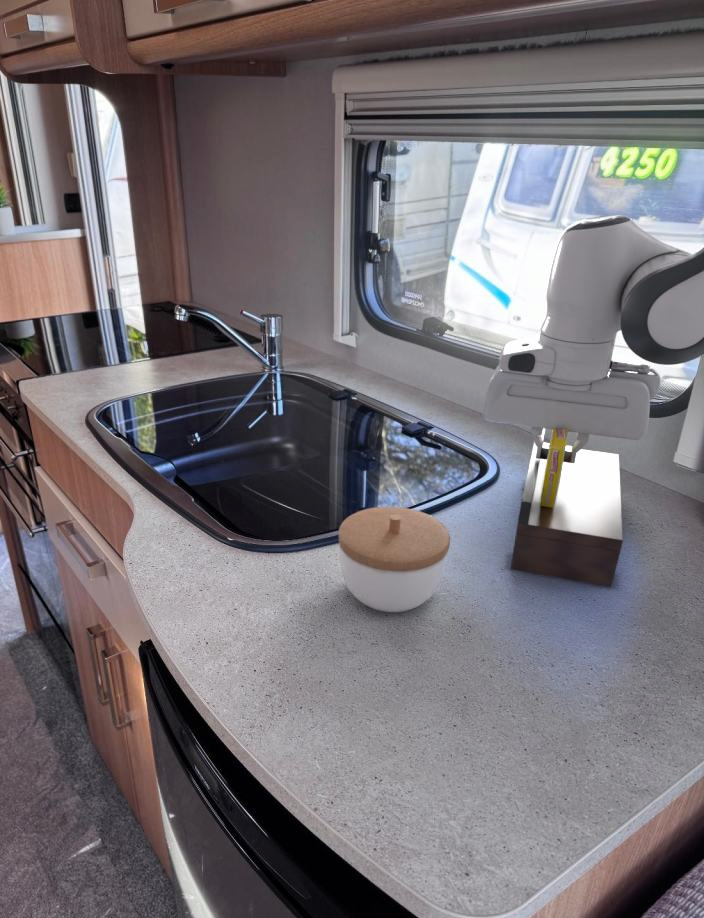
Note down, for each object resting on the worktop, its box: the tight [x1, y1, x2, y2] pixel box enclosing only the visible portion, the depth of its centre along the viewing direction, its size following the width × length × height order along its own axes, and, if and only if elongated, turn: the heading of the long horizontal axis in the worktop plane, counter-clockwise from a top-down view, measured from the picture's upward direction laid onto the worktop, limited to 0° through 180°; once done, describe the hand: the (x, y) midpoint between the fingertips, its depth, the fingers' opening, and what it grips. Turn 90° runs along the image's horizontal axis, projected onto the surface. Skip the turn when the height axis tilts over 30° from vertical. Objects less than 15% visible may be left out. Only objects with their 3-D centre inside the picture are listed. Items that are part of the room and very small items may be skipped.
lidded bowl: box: [338, 506, 451, 613], centre depth 84 cm, size 13×13×11 cm
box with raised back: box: [509, 428, 624, 588], centre depth 98 cm, size 12×26×10 cm, turn 161°
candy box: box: [540, 428, 569, 508], centre depth 95 cm, size 16×2×8 cm, turn 161°
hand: (554, 459), depth 96 cm, fingers closed on candy box, 2 cm apart
